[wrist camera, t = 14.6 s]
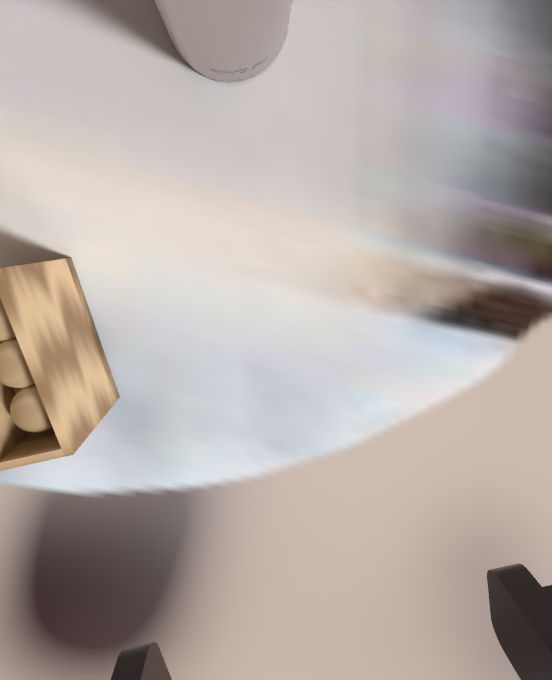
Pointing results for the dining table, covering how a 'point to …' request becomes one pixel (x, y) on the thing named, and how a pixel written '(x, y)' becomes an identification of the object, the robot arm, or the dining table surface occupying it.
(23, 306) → the oak box
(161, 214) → the dining table surface
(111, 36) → the dining table surface
